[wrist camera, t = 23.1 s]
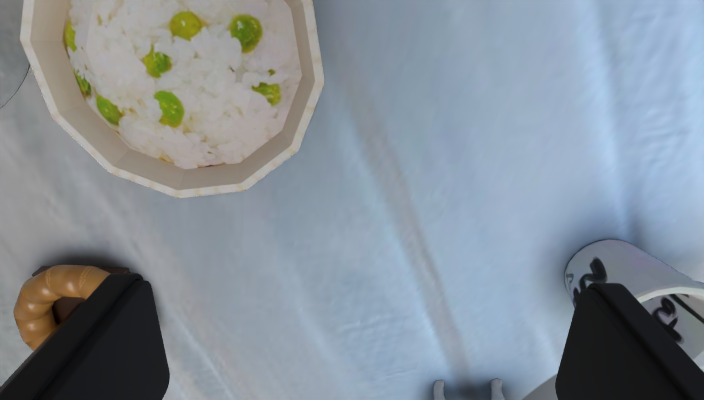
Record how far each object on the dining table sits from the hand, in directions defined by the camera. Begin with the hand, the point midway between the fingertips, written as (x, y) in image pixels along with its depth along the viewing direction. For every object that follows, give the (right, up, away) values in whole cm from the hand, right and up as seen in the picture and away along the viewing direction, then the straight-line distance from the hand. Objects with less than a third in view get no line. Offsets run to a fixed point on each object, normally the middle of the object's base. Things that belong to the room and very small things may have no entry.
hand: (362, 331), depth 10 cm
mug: (+27, -4, +35) cm, 44 cm away
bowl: (-11, +16, +27) cm, 33 cm away
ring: (-27, -9, +35) cm, 45 cm away
